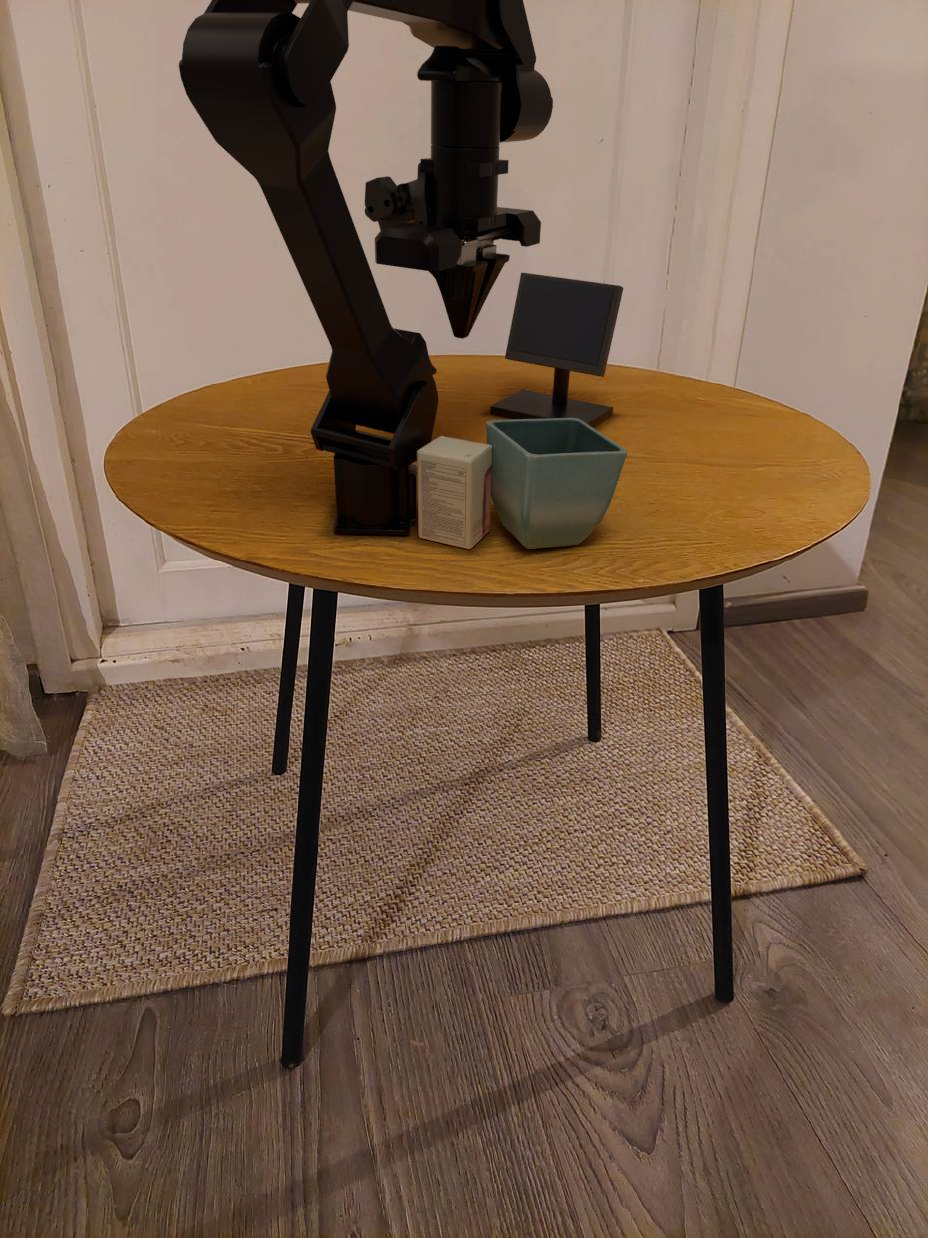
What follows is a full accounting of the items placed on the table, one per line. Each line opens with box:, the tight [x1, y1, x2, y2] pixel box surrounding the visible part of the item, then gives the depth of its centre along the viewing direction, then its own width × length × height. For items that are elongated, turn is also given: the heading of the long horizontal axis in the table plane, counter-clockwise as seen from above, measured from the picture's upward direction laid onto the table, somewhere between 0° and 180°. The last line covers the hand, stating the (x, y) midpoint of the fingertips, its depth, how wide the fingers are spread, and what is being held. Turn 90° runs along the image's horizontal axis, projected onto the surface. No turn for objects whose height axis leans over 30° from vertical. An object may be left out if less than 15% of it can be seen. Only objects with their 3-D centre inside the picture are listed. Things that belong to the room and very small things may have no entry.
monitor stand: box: [489, 368, 614, 429], centre depth 103 cm, size 8×12×7 cm, turn 59°
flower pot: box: [485, 418, 629, 550], centre depth 75 cm, size 9×9×9 cm
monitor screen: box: [504, 272, 624, 378], centre depth 101 cm, size 1×12×10 cm, turn 59°
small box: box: [416, 435, 492, 550], centre depth 75 cm, size 5×4×8 cm
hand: (460, 337), depth 83 cm, fingers closed
